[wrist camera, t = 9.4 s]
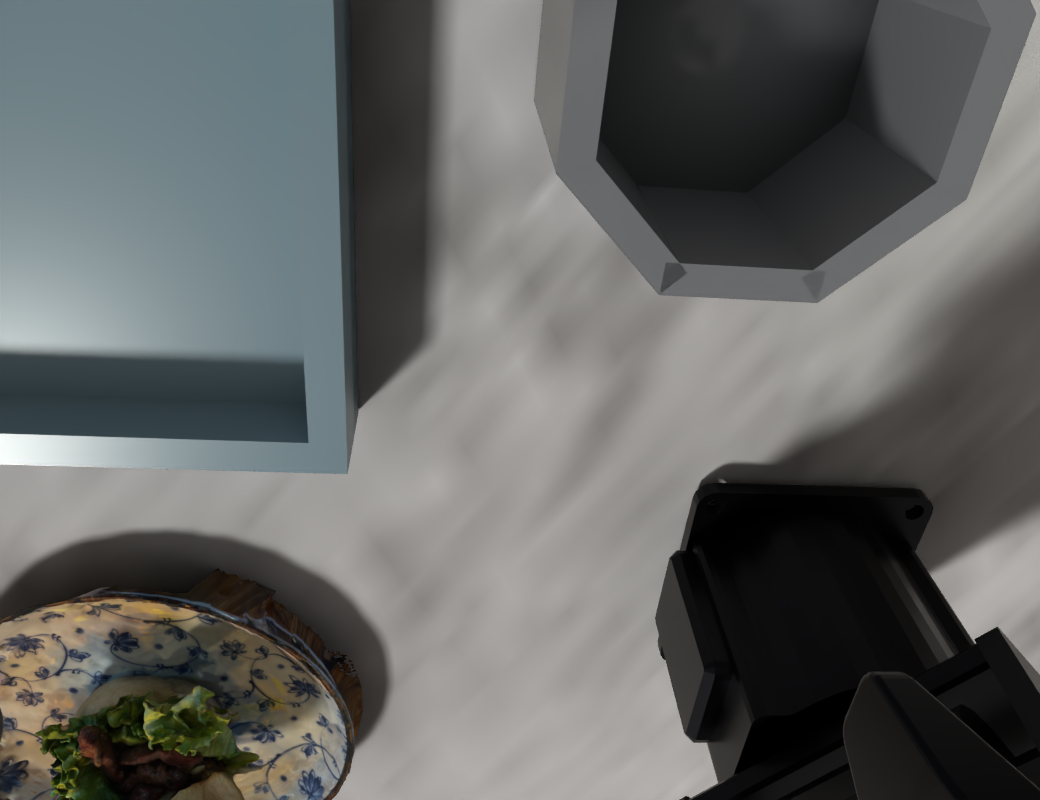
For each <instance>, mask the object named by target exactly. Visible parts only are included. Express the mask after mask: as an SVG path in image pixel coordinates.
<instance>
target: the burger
mask: <svg viewBox="0 0 1040 800" xmlns="http://www.w3.org/2000/svg"><path fill="white" fill-rule="evenodd" d="M274 592H275V591H271V590H268V589H266V588H262V587H259V586H257V585H256V584H255V582H254V581H249V580H241V579H240V578H239V576H237V575H233V574H226V573H225V572H224V571H223V573H222V572H219V569H217V570H216V571H215V572H213V573H212V574H211V575H210V576H209V577H207V578H206V579H204V580H203V581H201V582H200V583H198V584H197V585H196V586H195V587H194V588H192V589H191V591H189V592H187V593H176V592H174V593H168V592H162V591H149V590H146V589H139V588H135V589H122V588H118V587H106V588H98V589H96V590H93V591H91V592H88V593H86V594H83V595H81V596H78V597H74V598H71V599H67V600H64V601H60V602H57V603H50V604H42V605H36V606H32V607H29V608H26V609H22V610H21V611H19V612H17V613H15V614H13V615H10V616H8V617H6V618H4V619H2V620H0V708H1V711H2V715H3V723H4V724H3V733H2V738H1V741H0V800H332V799H333V798H334V797H335V796H336V795H337V793H338V792H339V790H340V788H341V786H342V785H343V782H344V781H345V780H346V777H347V774H349V773H350V768H351V763H352V758H353V755H354V749H355V747H354V745H355V740H354V738H355V736H356V735H357V731H358V727H359V723H360V719H361V715H362V693H361V685H360V682H359V679H358V676H355V677H354V678H353V677H352V675H349V676H348V675H346V673H345V672H342V671H341V669H344V671H346V672H347V673H351V671H350V669H351V668H348V667H349V666H348V664H346V663H345V662H344V660H346V658H345V656H347V655H341V656H343V657H342V658H341V657H339V658H337V659H335V658H334V657H333V656H335V655H339V656H340V652H339V651H338V652H337V654H334V652H332V654H333V656H332V655H331V654H330V653H329V651H327V650H326V648H325V647H324V645H323V643H324V642H322V640H321V638H320V639H319V635H318V634H315V633H314V632H313V631H312V630H311V629H310V628H311V627H306V626H305V625H304V623H303V622H302V621H300V619H299V618H298V616H297V615H295V614H292V613H290V612H288V611H287V610H286V608H285V607H284V606H283V605H282V604H278V603H276V601H273V600H271V595H272V594H273V593H274ZM332 651H333V650H332ZM337 662H340V663H341V664H343V665H342V666H343V667H342V668H341V667H339V665H337ZM349 662H352V661H350V660H349ZM350 665H352V666H354V665H353V664H350ZM352 668H354V667H352ZM354 671H355V670H354ZM352 672H353V671H352ZM356 675H357V673H356ZM352 679H353V680H352ZM356 679H358V680H356Z"/></svg>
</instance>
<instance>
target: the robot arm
mask: <svg viewBox="0 0 1040 800" xmlns="http://www.w3.org/2000/svg"><path fill="white" fill-rule="evenodd" d="M713 500H719V502H717V503H716V504H714V505H707V504H708V503H709V502H711V501H713ZM912 506H914V507H913V508H911V509H909V510H907V509H908V508H910V507H912ZM932 511H933V506H932V503H931V501H930V500H929V499H928V497H927V496H926V495H925V493H924V492H922V491H921V490H918V489H912V488H876V487H840V486H804V485H769V484H733V483H711V484H707V485H704V486H702V487H700V488H699V489H698V490H697V491H696V492H695V494H694V496H693V499H692V503H691V508H690V512H689V516H688V520H687V524H686V528H685V532H684V536H683V540H682V544H681V548H680V551H679V550H678V551H676V552H675V553H674V554H673V555H672V556H671V557H670V558H669V562H668V567H667V571H666V575H665V579H664V583H663V587H662V592H661V596H660V600H659V604H658V608H657V613H656V617H655V620H656V625H657V628H658V632H659V638H658V647H659V651H660V654H661V656H662V658H663V659H664V660H666V663H667V667H668V671H669V675H670V679H671V683H672V687H673V691H674V695H675V698H676V702H677V706H678V710H679V714H680V718H681V722H682V726H683V730H684V733H685V734H686V735H687V736H688V738H689V739H690V740H691V741H692V742H694V743H702V742H707V745H708V748H709V752H710V755H711V759H712V762H713V766H714V770H715V773H716V777H717V780H718V784H716V785H714V786H712V787H710V788H709V789H707V790H705V791H703V792H701V793H699V794H698V795H696V796H694V797H692V798H689V797H687V796H685V797H684V798H682V799H680V800H1040V675H1039V673H1038V672H1037V671H1036V670H1035V669H1034V668H1033V667H1032V665H1031V664H1030V663H1029V662H1028V661H1027V660H1026V659H1025V657H1024V656H1023V655H1022V654H1021V653H1020V652H1019V651H1018V649H1017V648H1016V647H1015V646H1014V645H1013V644H1012V642H1011V641H1010V640H1009V639H1008V638H1007V637H1006V636H1005V634H1004V633H1003V632H1002V631H1001V630H1000V629H999V628H998V627H996V628H994V629H992V630H991V631H989V632H987V633H985V634H983V635H981V636H980V637H978V638H976V639H975V641H976V644H975V643H974V642H973V640H972V639H971V637H970V636H969V634H968V633H967V631H966V629H965V628H964V626H963V625H962V623H961V622H960V620H959V619H958V617H957V616H956V614H955V613H954V611H953V609H952V608H951V606H950V605H949V603H948V602H947V600H946V599H945V597H944V596H943V594H942V593H941V591H940V589H939V588H938V586H937V585H936V583H935V582H934V580H933V579H932V577H931V576H930V574H929V572H928V571H927V569H926V568H925V566H924V565H923V563H922V562H921V560H920V559H919V557H918V556H917V554H916V552H915V550H916V548H917V546H918V544H919V541H920V539H921V537H922V534H923V532H924V530H925V528H926V525H927V523H928V521H929V519H930V516H931V514H932ZM3 724H4V723H3V715H2V711H1V708H0V741H1V738H2V733H3Z"/></svg>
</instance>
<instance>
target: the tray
mask: <svg viewBox="0 0 1040 800" xmlns="http://www.w3.org/2000/svg"><path fill="white" fill-rule="evenodd" d="M357 416H358V367H357V319H356V270H355V222H354V174H353V125H352V77H351V28H350V0H0V464H5V465H41V466H77V467H113V468H149V469H185V470H222V471H258V472H294V473H330V474H348V469H349V463H350V457H351V451H352V445H353V439H354V434H355V428H356V422H357Z"/></svg>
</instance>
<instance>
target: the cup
mask: <svg viewBox="0 0 1040 800" xmlns="http://www.w3.org/2000/svg"><path fill="white" fill-rule="evenodd" d="M1035 16H1036V12H1035V10H1034V8H1033V5H1032V3H1031V1H1030V0H543V8H542V19H541V30H540V41H539V52H538V63H537V74H536V85H535V96H534V102H535V106H536V109H537V112H538V115H539V119H540V122H541V125H542V128H543V132H544V135H545V138H546V142H547V145H548V148H549V151H550V155H551V158H552V161H553V165H554V168H555V171H556V174H557V175H558V176H559V178H560V179H561V180H562V181H563V182H564V183H565V185H566V186H567V187H568V188H569V189H570V191H571V192H572V193H573V194H574V195H575V196H576V198H577V199H578V200H579V201H580V202H581V204H582V205H583V206H584V207H585V208H586V209H587V211H588V212H589V213H590V214H591V215H592V217H593V218H594V219H595V220H596V221H597V222H598V224H599V225H600V226H601V227H602V228H603V230H604V231H605V232H606V233H607V234H608V235H609V237H610V238H611V239H612V240H613V241H614V242H615V244H616V245H617V246H618V247H619V248H620V250H621V251H622V252H623V253H624V254H625V255H626V257H627V258H628V259H629V260H630V261H631V263H632V264H633V265H634V266H635V267H636V268H637V270H638V271H639V272H640V273H641V274H642V276H643V277H644V278H645V279H646V280H647V281H648V283H649V284H650V285H651V286H652V287H653V289H654V290H655V291H656V292H657V293H658V294H659V295H668V296H688V297H709V298H729V299H749V300H769V301H789V302H810V303H817V302H819V301H821V300H822V299H824V298H825V297H826V296H828V295H829V294H831V293H832V292H834V291H835V290H837V289H838V288H839V287H841V286H842V285H844V284H845V283H847V282H848V281H850V280H851V279H852V278H854V277H855V276H857V275H858V274H860V273H861V272H863V271H864V270H865V269H867V268H868V267H870V266H871V265H873V264H874V263H876V262H877V261H878V260H880V259H881V258H883V257H884V256H886V255H887V254H889V253H890V252H891V251H893V250H894V249H896V248H897V247H899V246H900V245H901V244H903V243H904V242H906V241H907V240H909V239H910V238H912V237H913V236H914V235H916V234H917V233H919V232H920V231H922V230H923V229H925V228H926V227H927V226H929V225H930V224H932V223H933V222H935V221H936V220H938V219H939V218H940V217H942V216H943V215H945V214H946V213H948V212H949V211H951V210H952V209H953V208H955V207H956V206H958V205H959V204H961V203H962V202H963V201H965V200H966V199H967V197H968V194H969V192H970V189H971V186H972V184H973V181H974V178H975V176H976V173H977V170H978V168H979V165H980V162H981V160H982V157H983V154H984V152H985V149H986V146H987V144H988V141H989V138H990V136H991V133H992V130H993V128H994V125H995V122H996V120H997V117H998V114H999V112H1000V109H1001V106H1002V104H1003V101H1004V98H1005V96H1006V93H1007V90H1008V88H1009V85H1010V82H1011V80H1012V77H1013V74H1014V72H1015V69H1016V66H1017V64H1018V61H1019V58H1020V56H1021V53H1022V50H1023V48H1024V45H1025V43H1026V40H1027V37H1028V35H1029V32H1030V29H1031V27H1032V24H1033V21H1034V19H1035Z"/></svg>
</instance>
